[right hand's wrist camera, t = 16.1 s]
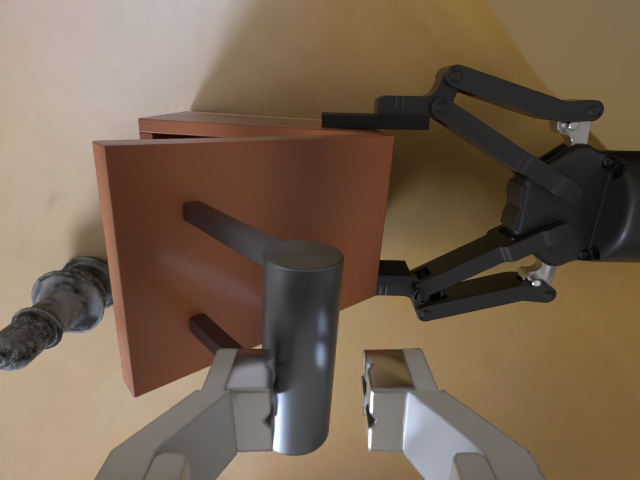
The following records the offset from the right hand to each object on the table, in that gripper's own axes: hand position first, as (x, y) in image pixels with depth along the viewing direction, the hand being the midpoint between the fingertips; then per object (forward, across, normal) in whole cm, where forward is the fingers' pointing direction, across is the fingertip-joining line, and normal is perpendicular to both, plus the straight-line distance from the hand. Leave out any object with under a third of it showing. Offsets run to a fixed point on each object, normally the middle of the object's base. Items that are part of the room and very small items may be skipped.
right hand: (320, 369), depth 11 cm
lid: (+10, +3, 0) cm, 10 cm away
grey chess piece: (+24, +21, +10) cm, 34 cm away
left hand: (+18, 0, 0) cm, 18 cm away
